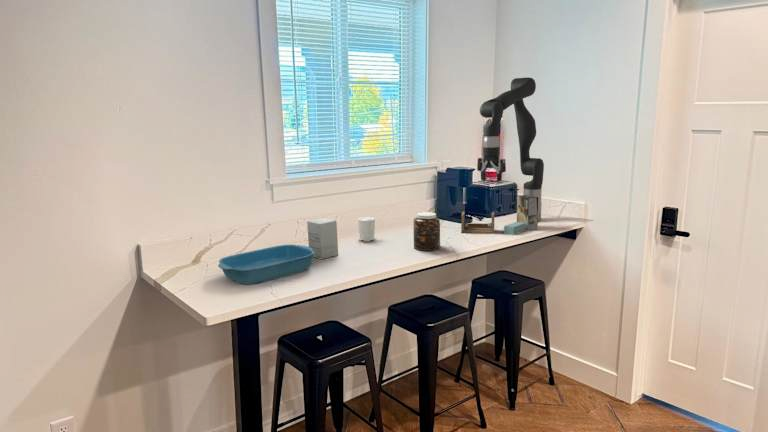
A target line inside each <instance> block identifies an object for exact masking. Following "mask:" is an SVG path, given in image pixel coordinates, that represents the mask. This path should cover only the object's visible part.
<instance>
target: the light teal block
mask: <svg viewBox="0 0 768 432" xmlns="http://www.w3.org/2000/svg"><path fill="white" fill-rule="evenodd" d="M525 231H526V223H522V222H517V221H515V222H512V223H508V224H506V225H504V227H503V234H506V235H511V236H515V235H517V234H519V233H523V232H525Z"/></svg>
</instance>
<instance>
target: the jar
mask: <svg viewBox="0 0 768 432" xmlns="http://www.w3.org/2000/svg"><path fill="white" fill-rule="evenodd" d="M440 248H441V221H440V218H438V216H437V213H435V212H431V211H429V212H428V211H423V212H418V213H417V214H416V217H415V218H414V219H413V249H414V250H417V251H420V252H433V251H438V250H439V249H440Z"/></svg>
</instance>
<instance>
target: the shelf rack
mask: <svg viewBox="0 0 768 432" xmlns="http://www.w3.org/2000/svg"><path fill="white" fill-rule="evenodd" d="M465 213H466V212H465V211H462V212H461V221H460V222H461V223H460V224H461V225H460V227H461V228H460V230H461V231H460V233H461V234H493V235H494V234H495V212H493V211H492V212H491V222H487V223H480V222H479V223H478V222H477V223H474V222H473V223H472V222H471V223H469V222H465V217H466V216H465V215H466V214H465Z"/></svg>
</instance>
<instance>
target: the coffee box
mask: <svg viewBox="0 0 768 432" xmlns="http://www.w3.org/2000/svg"><path fill="white" fill-rule="evenodd" d="M516 203H517V204H516V222H522V223H526V230H527V231H533V230H538V227H539V226H538V224H539V223H538V222H539V221H538V197H534V196H529V195H517V197H516ZM526 230H525V231H526Z"/></svg>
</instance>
